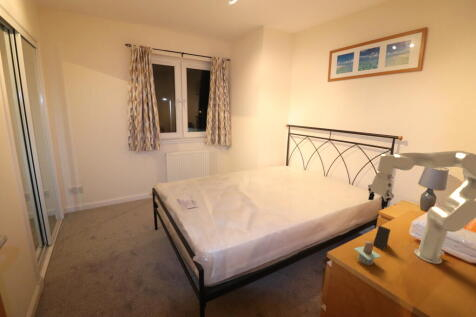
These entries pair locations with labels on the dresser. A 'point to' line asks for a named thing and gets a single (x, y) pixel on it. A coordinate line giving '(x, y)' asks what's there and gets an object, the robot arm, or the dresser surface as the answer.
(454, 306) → the dresser surface
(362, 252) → the lid
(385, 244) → the phone stand
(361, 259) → the cup
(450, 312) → the dresser surface
